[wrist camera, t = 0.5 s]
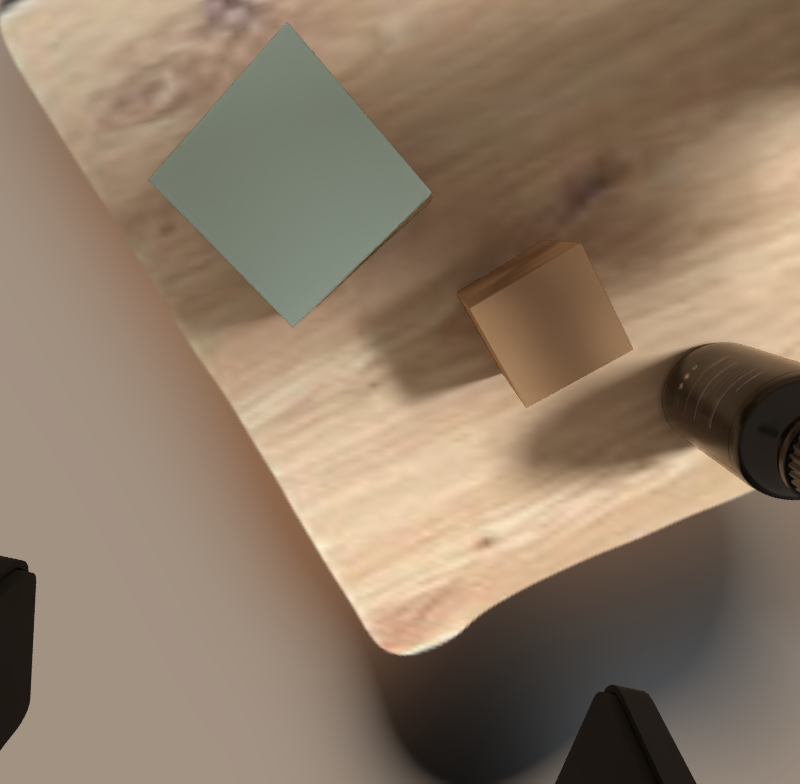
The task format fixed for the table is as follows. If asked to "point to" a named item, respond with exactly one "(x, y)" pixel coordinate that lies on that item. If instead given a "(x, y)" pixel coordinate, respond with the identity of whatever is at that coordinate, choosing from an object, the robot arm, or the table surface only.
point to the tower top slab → (290, 178)
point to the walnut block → (545, 319)
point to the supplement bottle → (740, 413)
